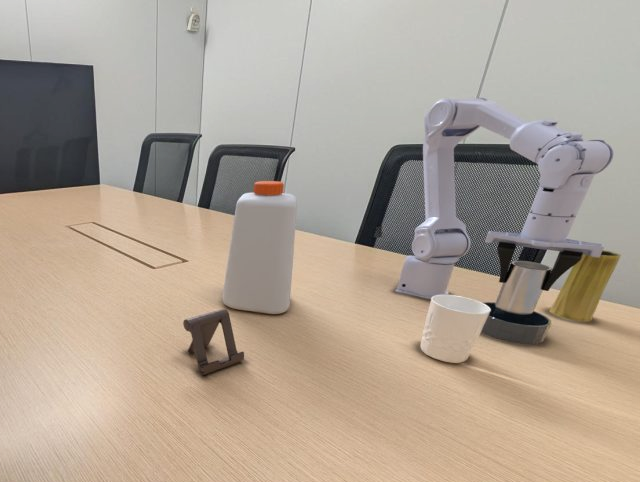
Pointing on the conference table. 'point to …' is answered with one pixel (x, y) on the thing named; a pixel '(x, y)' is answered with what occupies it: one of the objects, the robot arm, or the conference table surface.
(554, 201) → the robot arm
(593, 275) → the vase
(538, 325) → the dark grey shallow bowl
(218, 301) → the conference table surface
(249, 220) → the plastic bottle
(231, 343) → the tablet stand
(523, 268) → the silver cup
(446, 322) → the white cup
